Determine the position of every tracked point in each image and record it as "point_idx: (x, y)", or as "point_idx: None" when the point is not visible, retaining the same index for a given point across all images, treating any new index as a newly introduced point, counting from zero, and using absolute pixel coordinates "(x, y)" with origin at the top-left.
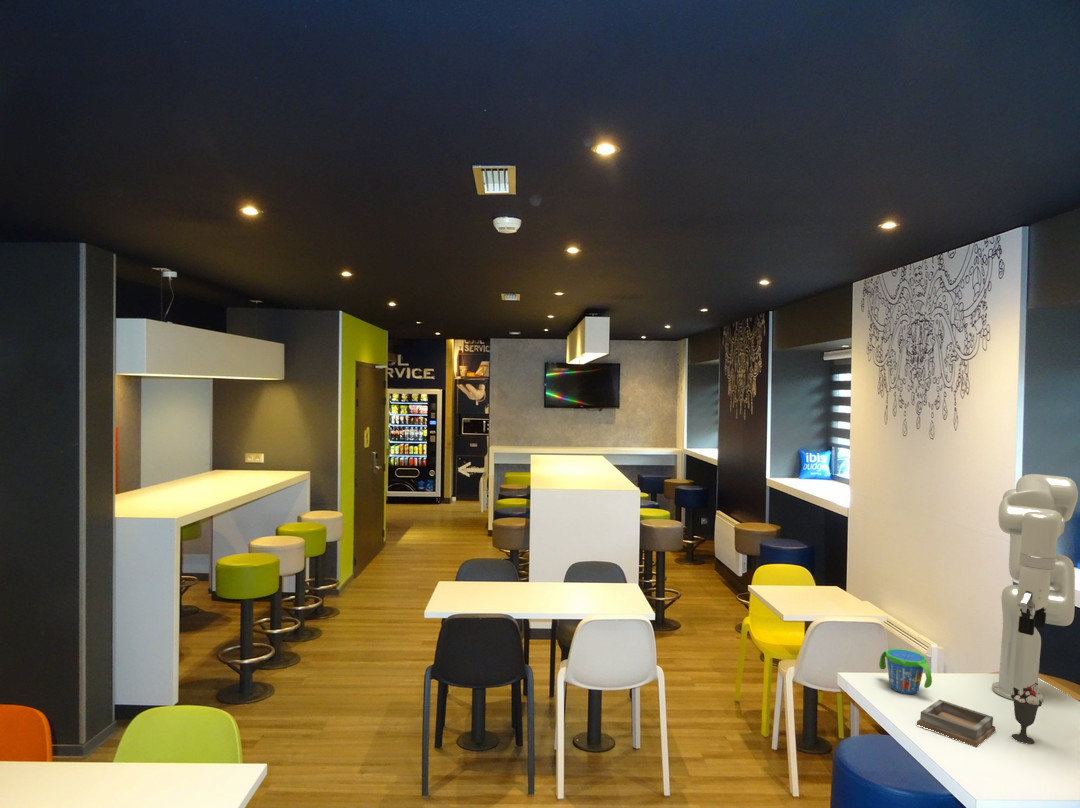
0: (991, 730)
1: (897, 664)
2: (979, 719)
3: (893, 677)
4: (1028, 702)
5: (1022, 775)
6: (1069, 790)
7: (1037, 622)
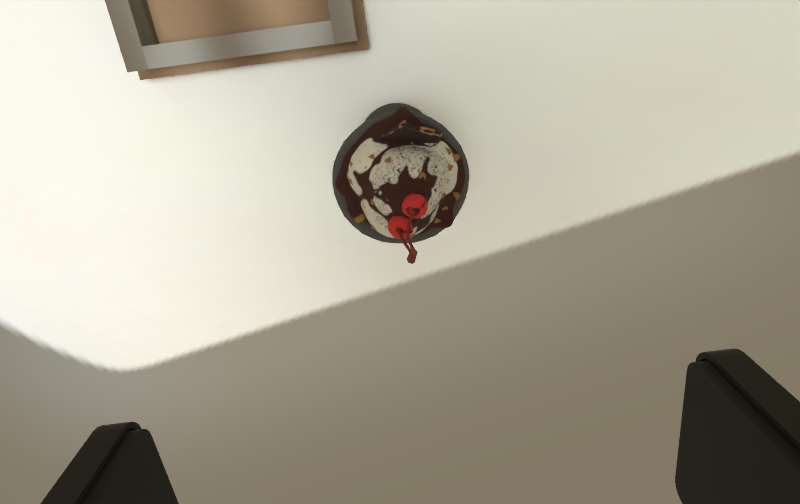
0: (316, 55)
1: None
2: None
3: None
4: (362, 208)
5: (113, 256)
6: (166, 355)
7: (714, 477)
